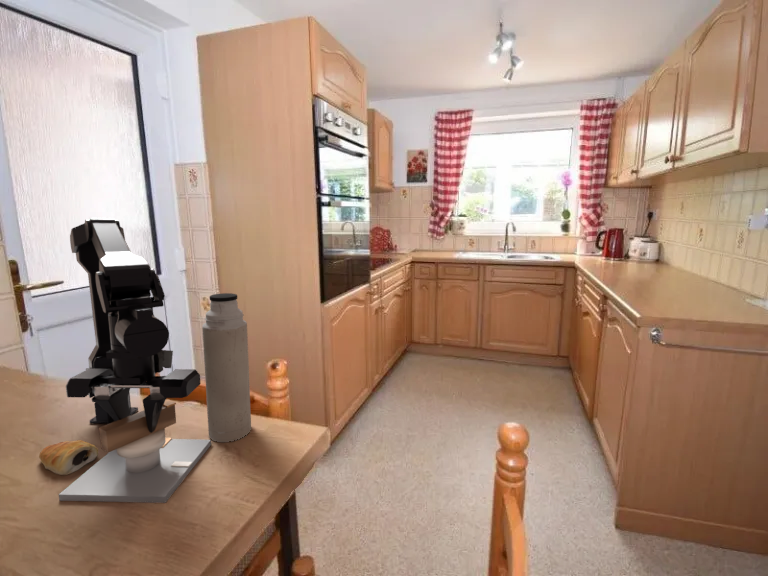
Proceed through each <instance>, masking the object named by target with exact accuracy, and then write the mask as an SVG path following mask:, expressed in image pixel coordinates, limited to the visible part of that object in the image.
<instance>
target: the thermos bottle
mask: <svg viewBox="0 0 768 576" xmlns="http://www.w3.org/2000/svg"><path fill="white" fill-rule="evenodd" d="M209 300H210V303H209V306H210V310H208V311H207V312H205V318H204V320H205V322H204V323H203V324H202V328H201V329H202V342H203V346H202V347H203V360H204V361H203V362H204V378H205V380H204V381H205V392H206V393H205V394H206V411H207V426H208V427H207V428H208V430H207V431H208V438H209V439H210V438H211V439H212V440H211V439H210V440H211V441H214V442H216V441H217V442H218V443H230V442H229V441H231V442H234V440H235V441H238V440H241V439H243V438H245V437H246V436H247V434H248V433H249V432H250V433H251V431H252V415H251V413H252V412H251V393H250V392H251V391H250V390H251V389H250V387H251V386H250V368H249V367H250V366H249V339H248V337H249V335H248V322H247V321H246V320H244V316H245V315H244V312H243V310H242V309H240V308H239V307H238V306H239V305H238V301H237V300H238V294H236V293H229V292H228V293H227V292H223V293H215V294H214V293H213V294H211V295H209ZM250 430H251V431H250ZM250 433H249V434H250ZM245 435H246V436H245ZM244 436H245V437H244ZM242 437H243V438H242ZM240 438H241V439H240ZM237 439H238V440H237Z"/></svg>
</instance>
